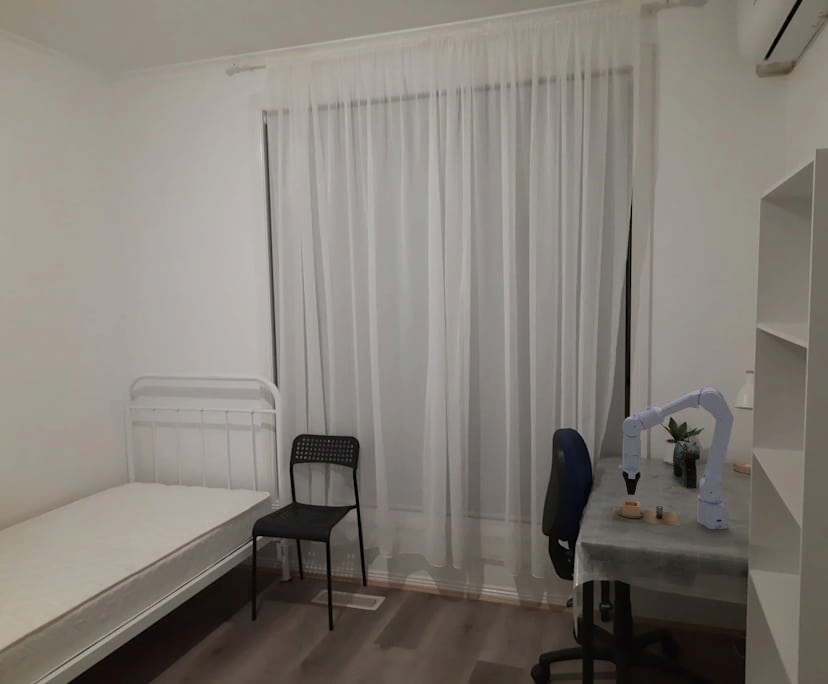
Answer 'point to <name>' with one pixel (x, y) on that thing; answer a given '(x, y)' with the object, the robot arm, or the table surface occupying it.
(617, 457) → the table surface
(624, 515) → the hub
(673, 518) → the walnut board
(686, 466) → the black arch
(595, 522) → the table surface
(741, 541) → the table surface
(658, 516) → the stand rod
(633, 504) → the collar
